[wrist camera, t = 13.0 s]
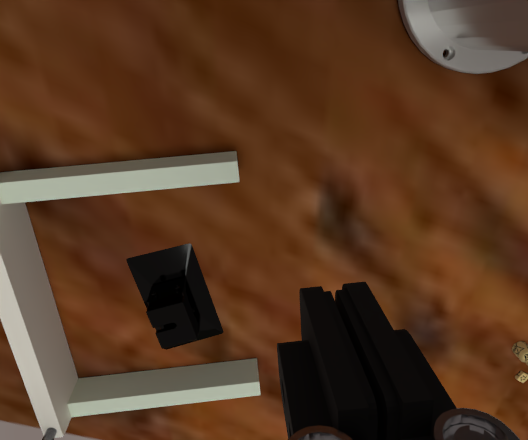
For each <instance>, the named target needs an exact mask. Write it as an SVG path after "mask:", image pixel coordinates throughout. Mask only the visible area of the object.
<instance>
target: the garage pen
mask: <svg viewBox="0 0 528 440" xmlns="http://www.w3.org/2000/svg"><path fill="white" fill-rule="evenodd" d="M235 182H239V172H238V162H237V152H236V151H231V152H220V153H209V154H198V155H187V156H176V157H165V158H154V159H143V160H132V161H121V162H110V163H99V164H88V165H77V166H66V167H54V168H43V169H32V170H21V171H10V172H0V319H1V322H2V324H3V327H4V330H5V332H6V335H7V338H8V341H9V343H10V346H11V349H12V351H13V354H14V357H15V360H16V362H17V365H18V368H19V370H20V373H21V376H22V379H23V381H24V384H25V387H26V390H27V392H28V395H29V398H30V400H31V403H32V406H33V409H34V411H35V414H36V417H37V419H38V422H39V425H40V428H41V430H42V433H43V436H44V437H43V439H42V440H54V438H58V437H64V434H65V432H66V430H67V427H68V425H69V422H70V420H71V417H78V416H86V415H95V414H103V413H112V412H120V411H129V410H137V409H146V408H155V407H163V406H172V405H180V404H189V403H197V402H206V401H214V400H223V399H231V398H240V397H248V396H257V395H260V385H259V375H258V365H257V358H255V359H246V360H237V361H228V362H219V363H210V364H202V365H193V366H184V367H175V368H166V369H157V370H149V371H140V372H131V373H122V374H113V375H104V376H96V377H87V378H78V376H77V372H76V369H75V366H74V362H73V359H72V356H71V353H70V349H69V346H68V343H67V339H66V336H65V333H64V329H63V326H62V323H61V320H60V316H59V313H58V310H57V306H56V303H55V300H54V297H53V293H52V290H51V287H50V283H49V280H48V277H47V274H46V270H45V267H44V264H43V260H42V257H41V254H40V250H39V247H38V244H37V241H36V237H35V234H34V231H33V227H32V224H31V221H30V218H29V214H28V211H27V208H26V204H25V202H32V201H43V200H54V199H64V198H75V197H85V196H96V195H107V194H117V193H128V192H139V191H149V190H160V189H171V188H181V187H192V186H203V185H213V184H224V183H235Z"/></svg>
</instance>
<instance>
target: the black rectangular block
mask: <svg viewBox="0 0 528 440" xmlns="http://www.w3.org/2000/svg"><path fill="white" fill-rule="evenodd" d="M126 261H127V263H128V266H129V268H130V270H131V273H132V275H133V277H134V280H135V282H136V284H137V287H138V289H139V291H140V294H141V296H142V298H143V301H144V303H145V305H146V308H147V311H146V313H147V315H148V318H149V320H150V322H151V325H152V327H153V328H155V329H156V336H157V338H158V341H159V343H160V345H161V347H162V349H170V348H173V347H177V346H180V345H184V344H187V343H191V342H194V341H198V340H201V339H205V338H208V337H212V336H215V335H219V334H222V333H223V329H222V327H221V324H220V321H219V318H218V316H217V313H216V310H215V307H214V305H213V302H212V299H211V296H210V294H209V291H208V288H207V285H206V283H205V280H204V277H203V274H202V272H201V269H200V266H199V264H198V261H197V258H196V255H195V253H194V250H193V247H192V245H191V244H185V245H181V246H177V247H173V248H169V249H165V250H160V251H156V252H152V253H148V254H144V255H140V256H136V257H132V258H128V259H127V260H126Z"/></svg>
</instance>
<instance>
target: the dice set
mask: <svg viewBox="0 0 528 440" xmlns="http://www.w3.org/2000/svg"><path fill="white" fill-rule="evenodd" d="M512 351H513V353H514V354H515V355H516V356H517V357H518V358H519V359H520V360H521V361H522V362H525V363H526V364H527V365H528V345H527V344H526V343H525V342H521V341H519V342H517V343H515V344H514V345H513V347H512ZM515 378H516V379H517V380H518V381H520V382H522V383H524V382H525V381H526V380H527V379H528V374H527V373H525V372H523V371H522V370H521V371H520V372H519V373H518V374H517V375H516V376H515Z"/></svg>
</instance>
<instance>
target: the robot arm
mask: <svg viewBox="0 0 528 440" xmlns="http://www.w3.org/2000/svg"><path fill="white" fill-rule="evenodd" d="M398 4H399V9H400V13H401V16H402V20H403V24H404V26H405V28H406V30H407V32H408V34H409V36H410V38H411V40H412V41H413V42H414V43H415V45H416V46H417V47H418V49H419V50H420V51H421V52H422V53H423V54H424V55H425V56H427V57H428V58H429V59H430V60H431V61H433V62H434V63H436V64H438V65H440V66H442V67H444V68H446V69H449V70H454V71H458V72H462V73H473V74H481V73H492V72H496V71H499V70H503V69H506V68H509V67H512V66H514V65H516V64H518V63H520V62H522V61H524V60H526V59H527V58H528V0H398ZM444 50H445V51H446V55H445V56H444V57H443V51H444ZM300 313H301V334H302V341H295V342H286V343H277V352H278V365H279V377H280V386H281V394H282V401H283V408H284V414H285V421H286V427H287V433H288V440H520V439H519V438H518V437H517V436H516V435H515V434H514V433H513V432H512V431H511V429H509V428H508V427H507V426H506V425H505V424H504V423H502V422H501V421H500V420H498V419H496V418H495V417H493V416H491V415H489V414H487V413H484V412H481V411H478V410H475V409H467V408H458V409H457V408H456V406H455V405H454V403H453V402H452V400H451V398H450V397H449V395H448V394H447V392H446V391H445V389H444V387H443V386H442V384H441V383H440V381H439V379H438V378H437V376H436V375H435V373H434V371H433V370H432V368H431V367H430V365H429V363H428V362H427V360H426V359H425V357H424V356H423V354H422V352H421V351H420V349H419V348H418V346H417V344H416V343H415V341H414V340H413V338H412V336H411V335H410V334H409V332H408V331H407V330H405V329H402V330H393V328H392V326H391V325H390V323H389V321H388V319H387V318H386V316H385V314H384V313H383V311H382V309H381V307H380V306H379V304H378V302H377V300H376V299H375V297H374V295H373V294H372V292H371V290H370V288H369V287H368V285H367V283H366V282H357V283H348V284H343V287H342V290H336V293H335V301H334V298H333V296H332V293H331V292H330V291H326V292H324V291H323V289H322V287H321V286H320V287H310V288H301V289H300Z"/></svg>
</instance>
